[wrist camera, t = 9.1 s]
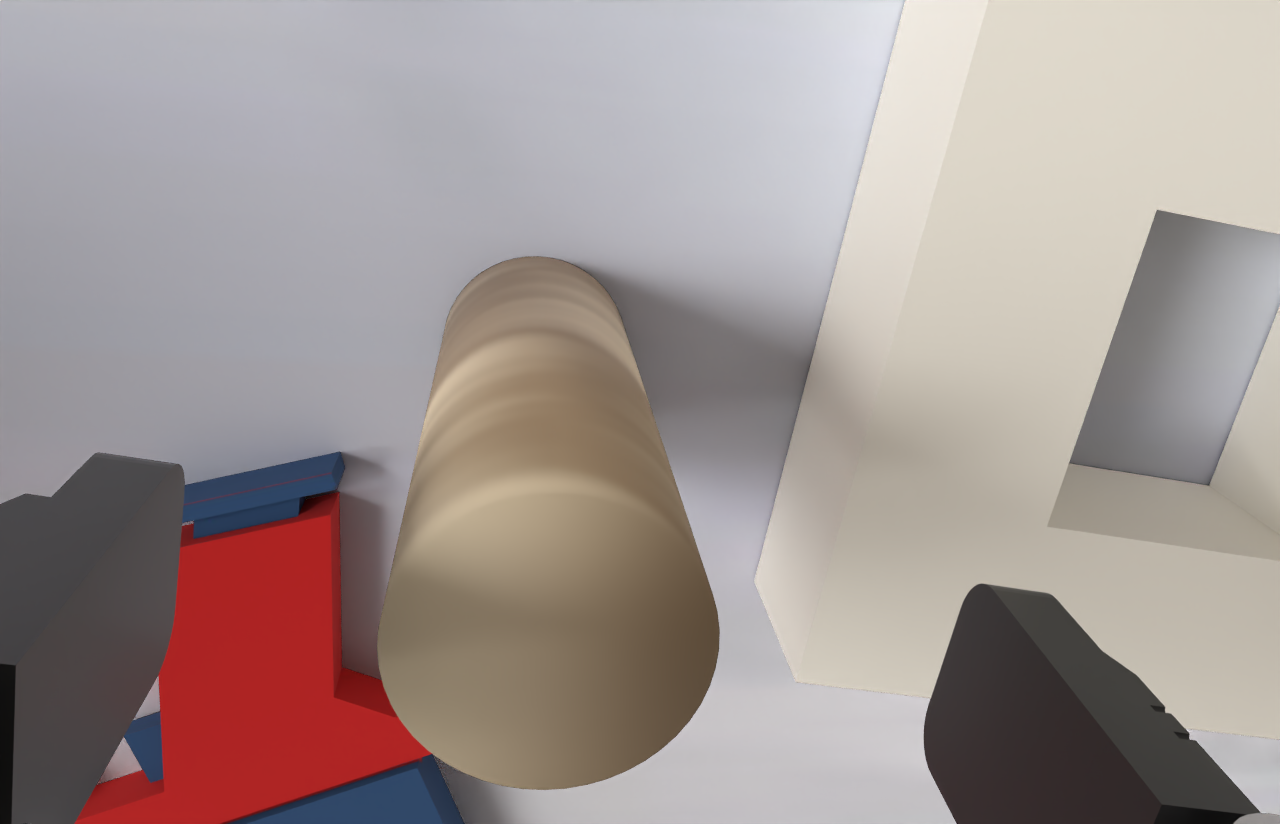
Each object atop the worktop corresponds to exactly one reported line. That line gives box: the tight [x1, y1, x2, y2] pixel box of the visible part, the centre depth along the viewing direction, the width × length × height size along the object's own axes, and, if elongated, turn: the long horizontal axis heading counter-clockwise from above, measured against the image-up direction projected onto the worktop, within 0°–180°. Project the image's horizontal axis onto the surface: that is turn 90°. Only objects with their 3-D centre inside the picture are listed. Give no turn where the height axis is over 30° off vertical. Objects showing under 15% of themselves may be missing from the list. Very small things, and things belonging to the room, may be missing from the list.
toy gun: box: [74, 452, 464, 824], centre depth 22 cm, size 15×2×10 cm
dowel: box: [377, 256, 719, 790], centre depth 15 cm, size 3×3×10 cm
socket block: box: [754, 0, 1280, 740], centre depth 19 cm, size 12×12×4 cm
